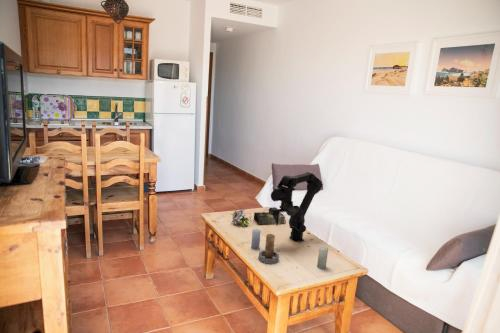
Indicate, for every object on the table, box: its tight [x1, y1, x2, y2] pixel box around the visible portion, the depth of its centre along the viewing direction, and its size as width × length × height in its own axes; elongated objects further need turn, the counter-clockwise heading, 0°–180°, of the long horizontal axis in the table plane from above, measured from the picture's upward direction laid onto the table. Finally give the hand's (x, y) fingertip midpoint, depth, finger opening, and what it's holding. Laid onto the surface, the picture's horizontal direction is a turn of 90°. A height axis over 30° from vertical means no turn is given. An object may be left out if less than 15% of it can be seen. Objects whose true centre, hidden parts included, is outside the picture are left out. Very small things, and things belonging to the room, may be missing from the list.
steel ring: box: [257, 249, 280, 265], centre depth 181 cm, size 10×10×2 cm
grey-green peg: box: [316, 246, 329, 270], centre depth 176 cm, size 4×4×10 cm
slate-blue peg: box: [250, 228, 261, 251], centre depth 192 cm, size 4×4×10 cm
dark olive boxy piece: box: [253, 211, 287, 226], centre depth 232 cm, size 20×10×6 cm, turn 106°
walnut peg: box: [264, 233, 276, 258], centre depth 180 cm, size 4×4×13 cm
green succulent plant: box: [232, 208, 252, 228], centre depth 225 cm, size 11×11×12 cm
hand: (284, 224), depth 197 cm, fingers open, 9 cm apart
